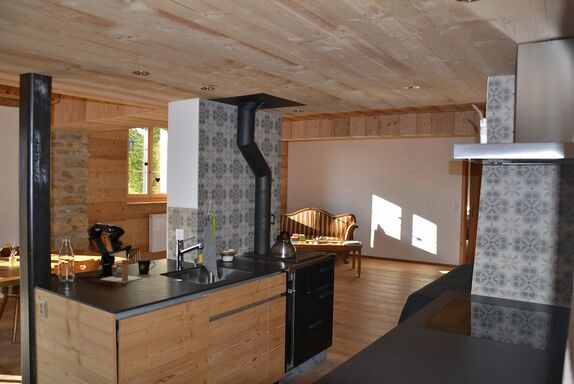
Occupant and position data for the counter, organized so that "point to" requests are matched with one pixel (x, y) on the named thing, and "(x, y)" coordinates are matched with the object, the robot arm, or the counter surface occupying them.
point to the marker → (125, 270)
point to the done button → (119, 270)
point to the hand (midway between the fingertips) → (120, 263)
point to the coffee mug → (144, 266)
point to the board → (120, 278)
